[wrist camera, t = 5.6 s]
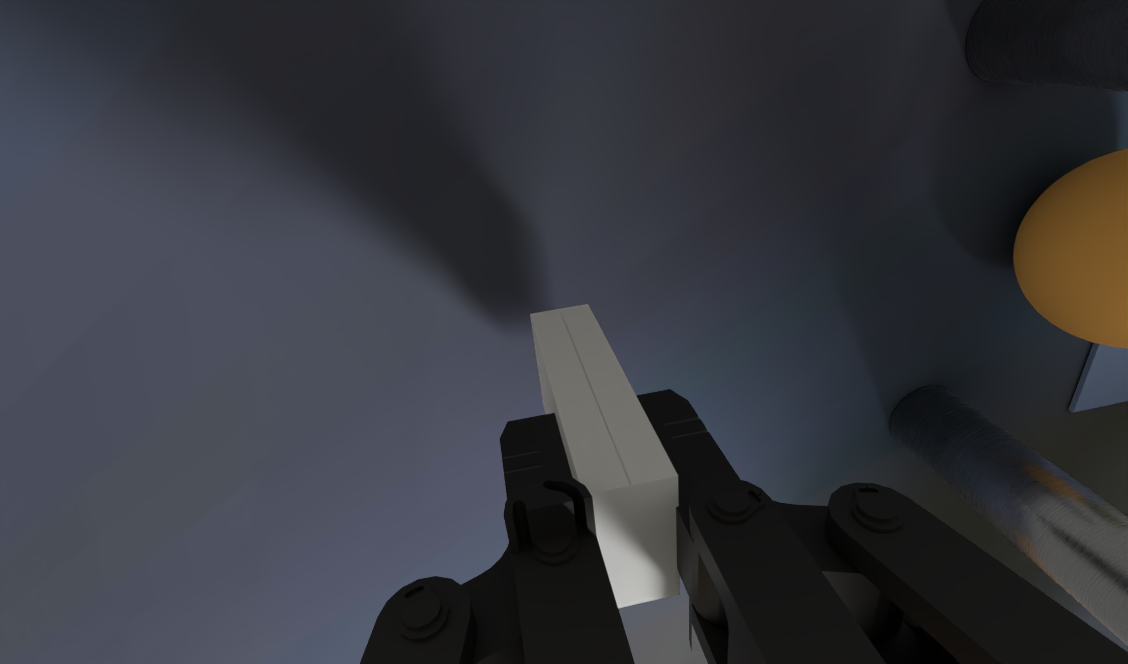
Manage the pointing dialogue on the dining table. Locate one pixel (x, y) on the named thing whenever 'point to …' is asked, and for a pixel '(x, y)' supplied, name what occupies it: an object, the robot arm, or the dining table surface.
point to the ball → (1080, 251)
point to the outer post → (1051, 43)
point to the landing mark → (1102, 379)
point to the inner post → (1023, 499)
